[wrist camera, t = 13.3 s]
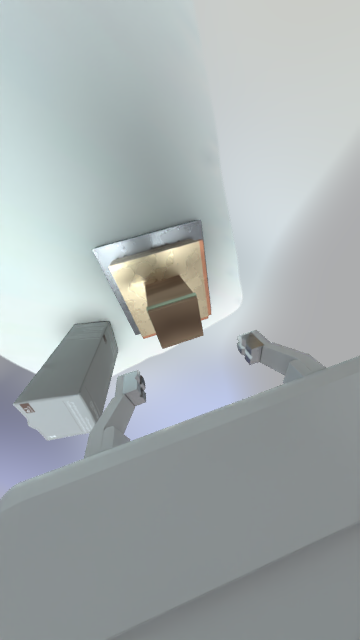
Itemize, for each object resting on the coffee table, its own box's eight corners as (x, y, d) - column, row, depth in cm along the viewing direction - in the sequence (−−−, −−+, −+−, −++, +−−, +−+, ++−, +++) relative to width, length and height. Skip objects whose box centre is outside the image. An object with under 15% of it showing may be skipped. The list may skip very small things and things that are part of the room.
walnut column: (144, 284, 21) (146, 312, 14) (179, 274, 21) (198, 296, 15) (155, 315, 24) (162, 349, 17) (186, 305, 24) (204, 335, 18)
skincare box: (118, 350, 33) (106, 431, 20) (83, 355, 32) (45, 445, 19) (109, 318, 29) (86, 395, 16) (68, 322, 27) (4, 411, 14)
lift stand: (95, 247, 22) (83, 254, 17) (196, 220, 23) (212, 219, 19) (135, 329, 31) (135, 348, 27) (207, 306, 33) (219, 321, 28)
